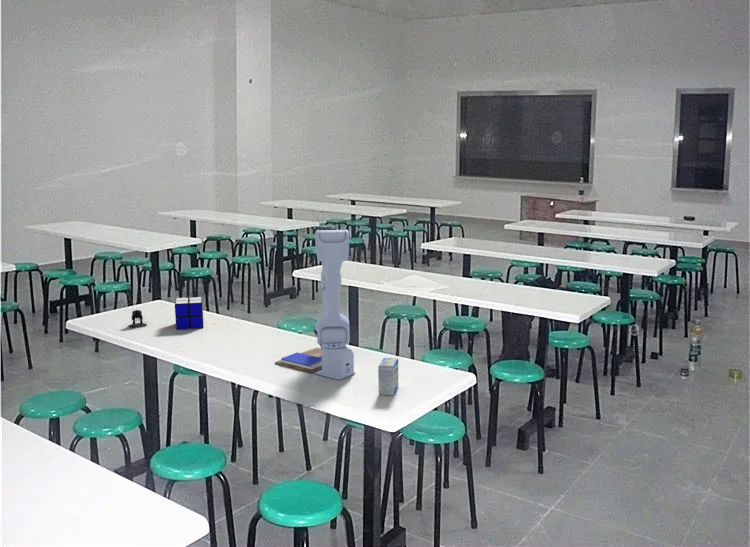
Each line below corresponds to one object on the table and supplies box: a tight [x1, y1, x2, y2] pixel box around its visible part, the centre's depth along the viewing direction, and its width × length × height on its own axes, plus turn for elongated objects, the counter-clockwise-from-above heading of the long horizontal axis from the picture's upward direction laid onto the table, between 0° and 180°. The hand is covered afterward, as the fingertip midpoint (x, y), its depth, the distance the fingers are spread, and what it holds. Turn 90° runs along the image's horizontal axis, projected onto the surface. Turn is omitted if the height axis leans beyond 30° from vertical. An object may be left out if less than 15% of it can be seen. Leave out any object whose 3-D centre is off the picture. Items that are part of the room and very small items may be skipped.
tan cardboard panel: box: [274, 347, 322, 374], centre depth 229 cm, size 16×20×4 cm
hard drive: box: [280, 352, 322, 370], centre depth 225 cm, size 2×8×12 cm
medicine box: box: [377, 357, 399, 396], centre depth 202 cm, size 8×4×9 cm, turn 168°
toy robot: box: [127, 309, 148, 329], centre depth 271 cm, size 12×12×12 cm
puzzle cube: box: [174, 296, 204, 330], centre depth 271 cm, size 10×10×10 cm
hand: (331, 347), depth 236 cm, fingers open, 7 cm apart
